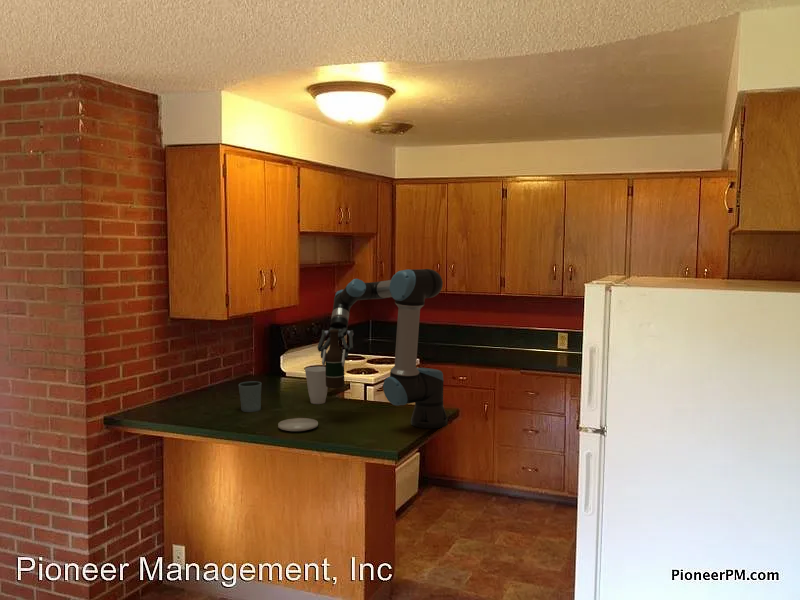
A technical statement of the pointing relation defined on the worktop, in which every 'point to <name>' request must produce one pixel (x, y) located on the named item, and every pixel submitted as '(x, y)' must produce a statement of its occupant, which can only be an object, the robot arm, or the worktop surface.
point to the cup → (316, 384)
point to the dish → (298, 424)
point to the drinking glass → (250, 396)
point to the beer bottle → (334, 363)
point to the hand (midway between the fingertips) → (333, 364)
